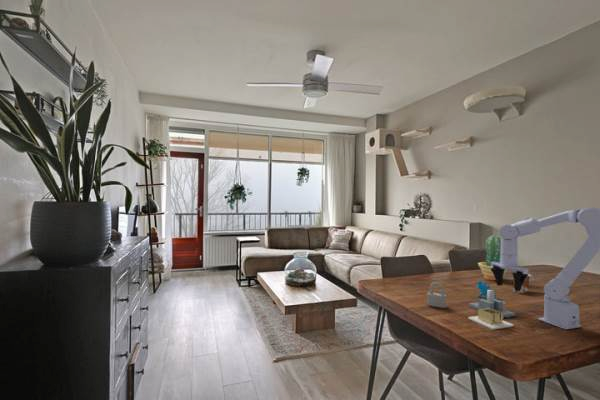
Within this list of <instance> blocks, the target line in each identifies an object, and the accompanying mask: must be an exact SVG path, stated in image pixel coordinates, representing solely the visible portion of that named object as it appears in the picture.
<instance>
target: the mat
mask: <svg viewBox="0 0 600 400" xmlns="http://www.w3.org/2000/svg"><path fill="white" fill-rule="evenodd" d="M468 320H470V321H472V322H475V323H476V324H479V325H481V326H484V327H486V328H488V329H490V330H491V331H492V330H497V329H498V330H499V329H505V328H511V327H514V324H513V323H511V322H508V321H505V320H503V323H499V324H492V325H491V324H489V323H487V322H484V321H482V320H480V319H478V315H475V316H468Z"/></svg>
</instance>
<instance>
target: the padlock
mask: <svg viewBox="0 0 600 400" xmlns="http://www.w3.org/2000/svg"><path fill="white" fill-rule="evenodd" d="M434 286H439V287H440V293H439V292H438V293H437V292H433V291H434ZM426 302H427V304H426V305H427V306H430V307H435V308H440V309H441V308H442V309H446V308H447V295H446V294H445V287H444V285H443V284H442V283H441V282H437V281H434V282H432V283H430V286H429V292H427V301H426Z"/></svg>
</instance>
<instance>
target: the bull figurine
mask: <svg viewBox="0 0 600 400" xmlns="http://www.w3.org/2000/svg"><path fill="white" fill-rule="evenodd" d="M531 281H535V278H534V276H533V275H532V274H530V273H529V274H528V276H527V277H526V279H525V280H524V282H523V284H522V287H521V290H520V292H521V293H522V294H523V293H524V291H525V292H528V287H529V284H530V282H531ZM512 282H513V286H512V289H513V290H512V291H513V292H517V291H515V282H514V279H512ZM524 287H525V288H524Z"/></svg>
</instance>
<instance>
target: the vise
mask: <svg viewBox="0 0 600 400" xmlns="http://www.w3.org/2000/svg"><path fill="white" fill-rule="evenodd" d="M494 294H495V291H493V290H487V296H486V299H484V298H480V299H478V301H477V302H468V307H470V308H473V309H475V310H477V311H478V309H485V308H491V309H493V310H496V311H499V312H501V313H503V319H505V318H504V317H506V318H512V317H511V316H513V317H515V316H516V313H515V312H512V311H510V310H507V309H505V308H504V305H506V301H502V300H498V299H494Z"/></svg>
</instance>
